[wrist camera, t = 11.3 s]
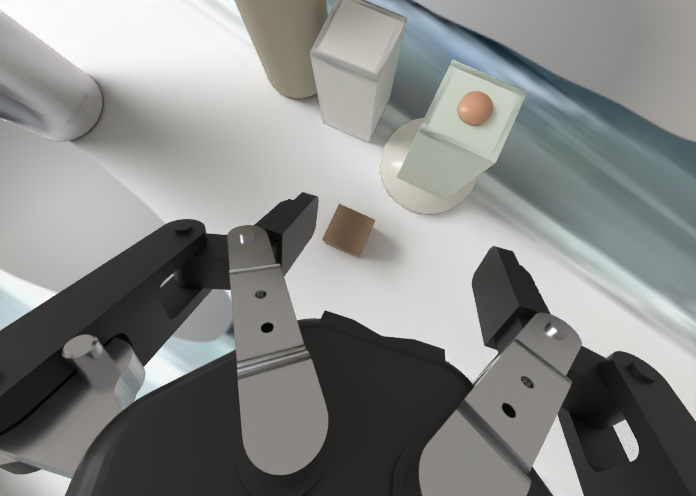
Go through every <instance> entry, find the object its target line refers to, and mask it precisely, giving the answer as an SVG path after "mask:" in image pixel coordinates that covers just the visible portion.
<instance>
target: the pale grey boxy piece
mask: <svg viewBox="0 0 696 496" xmlns="http://www.w3.org/2000/svg"><path fill="white" fill-rule="evenodd" d="M526 94H527V91H525V90H523V89H521V88H518V87H516V86H514V85H511V84H509V83H506V82H504V81H502V80H499V79H497V78H495V77H492V76H490V75H488V74H485V73H483V72H481V71H478V70H476V69H474V68H471V67H469V66H467V65H464V64H462V63H459V62H457V61H455V60H452V62H451V64H450V66H449V68H448V70H447V72H446V74H445V77H444V79H443V81H442V83H441V85H440V87H439V89H438V91H437V93H436V95H435V97H434V99H433V101H432V103H431V106H430V108H429V110H428V112H427V114H426V116H425V118H424V120H423V122H422V124H421V126H420V128H419V130H418V132H417V135H416V137H415V139H414V141H413V143H412V145H411V147H410V149H409V152H408V154H407V156H406V158H405V160H404V162H403V164H402V166H401V168H400V171H399V173H398V175H397V177H396V178H398V179H401V180H403V181H405V182H407V183H409V184H412V185H414V186H416V187H418V188H420V189H423V190H425V191H427V192H429V193H431V194H434V195H436V196H438V197H440V198H442V199H445V200H446V199H447V198H449V197H450V196H451V195H453V194H454V193H455V192H457V191H458V190H459V189H461V188H462V187H463V186H465V185H466V184H468V183H469V182H470V181H472V180H473V179H474V178H476V177H477V176H478V175H480V174H481V173H482V172H484V171H485V170H486V169H488V168H489V167H491V166H492V165H493V164H495V163H496V161H497V159H498V157H499V154H500V152H501V150H502V148H503V145H504V143H505V141H506V139H507V136H508V134H509V132H510V130H511V127H512V125H513V123H514V121H515V118H516V116H517V114H518V112H519V109H520V107H521V105H522V103H523V100H524V98H525V96H526Z"/></svg>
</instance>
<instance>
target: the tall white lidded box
mask: <svg viewBox="0 0 696 496" xmlns="http://www.w3.org/2000/svg"><path fill="white" fill-rule="evenodd" d="M406 23H407V17H405V16H402V15H400V14H397V13H395V12H392V11H390V10H387V9H385V8H382V7H380V6H378V5H375V4H373V3H370V2H368V1H365V0H336V1H335V3H334V5H333V7H332V9H331V11H330V13H329V15H328V17H327V19H326V21H325V23H324V25H323V27H322V29H321V31H320V33H319V35H318V37H317V39H316V41H315V43H314V45H313V47H312V49H311V51H310V57H311V62H312V67H313V73H314V78H315V83H316V88H317V93H318V98H319V104H320V109H321V114H322V119H323V123H325V124H327V125H329V126H332V127H334V128H336V129H339V130H341V131H343V132H345V133H348V134H350V135H352V136H355V137H357V138H359V139H362V140H364V141H366V142H368V143H369V141H370V139H371V137H372V135H373V133H374V131H375V129H376V127H377V124H378V122H379V120H380V118H381V116H382V114H383V112H384V110H385V107H386V105H387V103H388V101H389V99H390V94H391V90H392V85H393V81H394V77H395V72H396V68H397V63H398V59H399V54H400V50H401V45H402V41H403V36H404V32H405V27H406Z"/></svg>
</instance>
